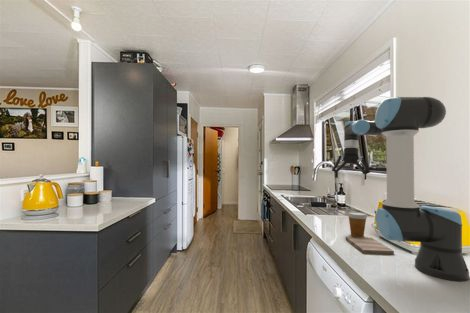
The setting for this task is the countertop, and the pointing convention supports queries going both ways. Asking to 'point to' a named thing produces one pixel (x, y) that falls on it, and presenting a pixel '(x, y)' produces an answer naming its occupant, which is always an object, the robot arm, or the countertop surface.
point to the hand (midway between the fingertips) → (350, 184)
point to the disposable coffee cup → (357, 223)
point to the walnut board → (369, 245)
